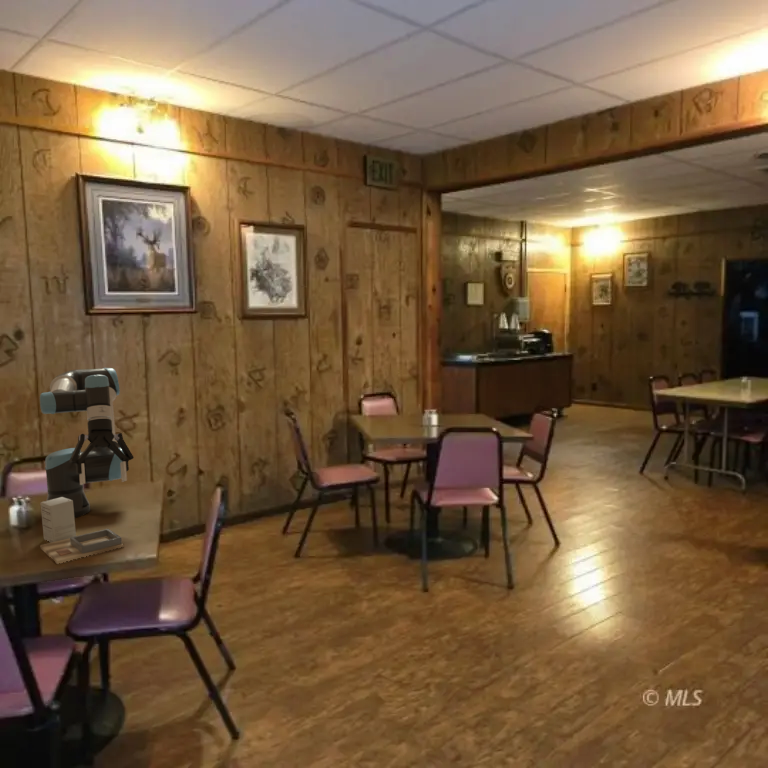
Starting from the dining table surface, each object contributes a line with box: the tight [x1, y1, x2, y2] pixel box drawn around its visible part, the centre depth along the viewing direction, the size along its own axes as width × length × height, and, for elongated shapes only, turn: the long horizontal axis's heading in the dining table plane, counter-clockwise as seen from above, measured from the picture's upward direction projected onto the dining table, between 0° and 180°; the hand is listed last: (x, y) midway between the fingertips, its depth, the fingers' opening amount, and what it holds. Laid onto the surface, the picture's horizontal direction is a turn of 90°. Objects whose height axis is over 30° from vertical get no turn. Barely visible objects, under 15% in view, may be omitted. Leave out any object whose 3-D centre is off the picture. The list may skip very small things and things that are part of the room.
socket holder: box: [70, 528, 123, 554], centre depth 201 cm, size 12×12×2 cm
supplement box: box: [40, 497, 77, 543], centre depth 209 cm, size 7×7×13 cm
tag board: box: [39, 536, 124, 565], centre depth 201 cm, size 18×19×1 cm
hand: (104, 482), depth 215 cm, fingers open, 13 cm apart
